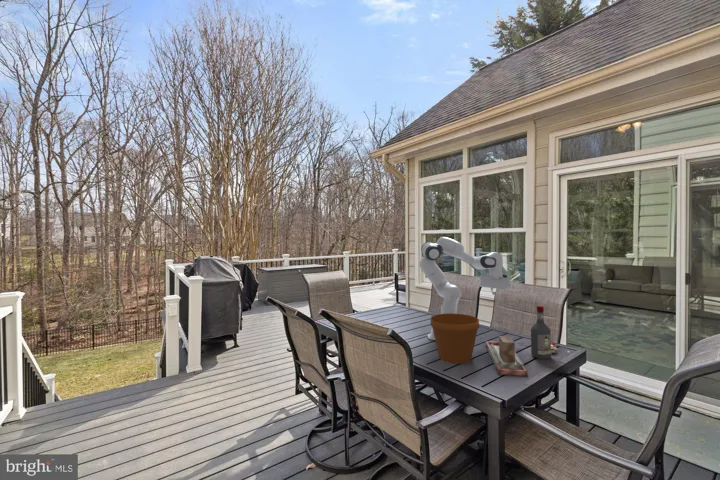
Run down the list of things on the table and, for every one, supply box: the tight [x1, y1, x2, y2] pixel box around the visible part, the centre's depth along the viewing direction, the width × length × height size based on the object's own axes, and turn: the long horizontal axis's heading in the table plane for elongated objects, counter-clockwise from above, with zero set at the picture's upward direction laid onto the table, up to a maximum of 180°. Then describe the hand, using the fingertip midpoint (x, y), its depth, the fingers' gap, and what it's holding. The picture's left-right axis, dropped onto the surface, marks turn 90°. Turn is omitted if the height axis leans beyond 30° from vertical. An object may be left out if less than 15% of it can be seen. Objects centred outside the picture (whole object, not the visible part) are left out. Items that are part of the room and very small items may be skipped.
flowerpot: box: [430, 313, 480, 365], centre depth 200 cm, size 28×28×24 cm
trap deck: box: [485, 340, 528, 377], centre depth 197 cm, size 14×48×4 cm, turn 167°
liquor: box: [530, 305, 552, 360], centre depth 198 cm, size 9×9×30 cm
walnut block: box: [498, 335, 516, 363], centre depth 189 cm, size 6×12×11 cm, turn 167°
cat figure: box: [551, 340, 558, 355], centre depth 213 cm, size 10×9×25 cm
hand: (494, 294), depth 233 cm, fingers closed
